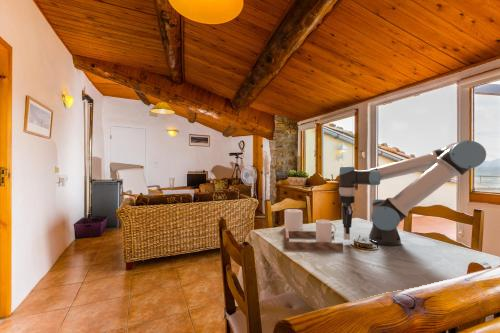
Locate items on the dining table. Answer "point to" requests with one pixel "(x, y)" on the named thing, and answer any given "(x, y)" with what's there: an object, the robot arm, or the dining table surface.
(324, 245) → the brown rectangular tray
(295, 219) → the cup
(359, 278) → the dining table surface
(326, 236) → the mug
